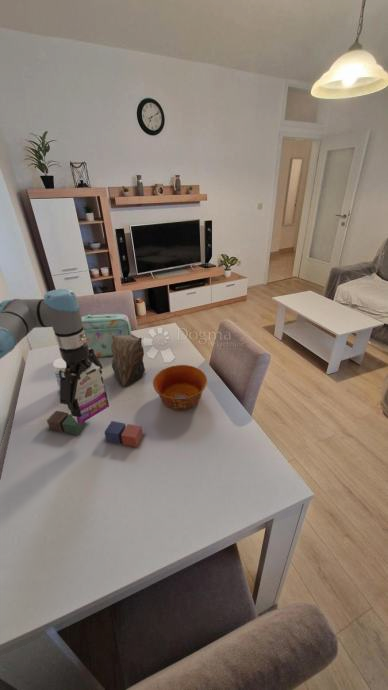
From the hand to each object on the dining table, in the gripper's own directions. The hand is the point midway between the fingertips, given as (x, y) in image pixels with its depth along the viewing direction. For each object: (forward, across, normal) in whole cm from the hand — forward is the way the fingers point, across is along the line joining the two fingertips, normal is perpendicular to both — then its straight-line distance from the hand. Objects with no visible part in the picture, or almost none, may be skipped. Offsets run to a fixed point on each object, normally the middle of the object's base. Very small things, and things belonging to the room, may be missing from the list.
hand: (88, 402), depth 89 cm
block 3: (+14, 0, -8) cm, 16 cm away
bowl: (+15, +24, -24) cm, 37 cm away
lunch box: (+15, +50, +23) cm, 57 cm away
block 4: (+15, 0, -14) cm, 20 cm away
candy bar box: (+4, 0, 0) cm, 4 cm away
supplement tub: (+15, +19, +22) cm, 33 cm away
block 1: (+14, 0, +14) cm, 20 cm away
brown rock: (+15, +32, +3) cm, 35 cm away
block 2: (+14, 0, +8) cm, 17 cm away
